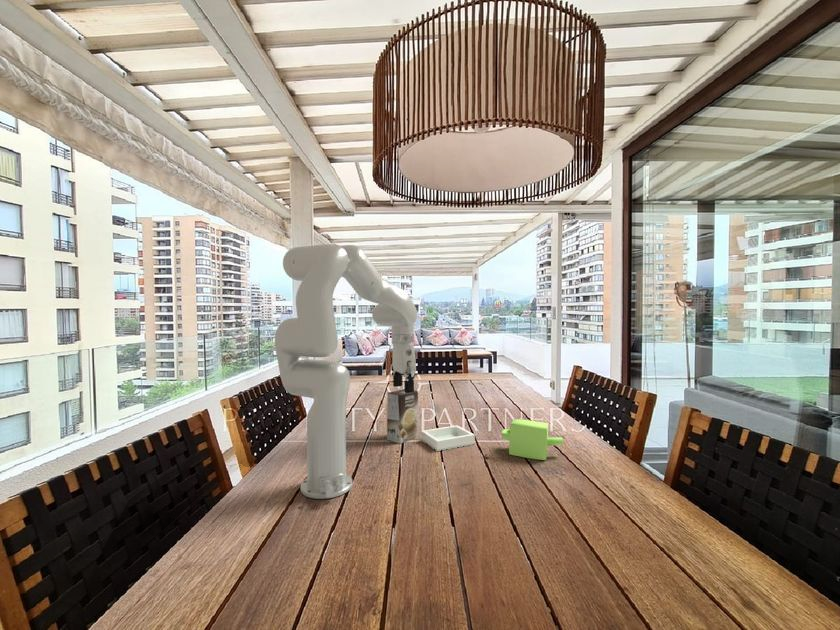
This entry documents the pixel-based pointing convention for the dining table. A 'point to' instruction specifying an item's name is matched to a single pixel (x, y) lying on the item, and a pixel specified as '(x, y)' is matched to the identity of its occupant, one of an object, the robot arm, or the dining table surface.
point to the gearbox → (529, 439)
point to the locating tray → (448, 437)
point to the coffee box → (402, 416)
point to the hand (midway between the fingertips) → (403, 389)
